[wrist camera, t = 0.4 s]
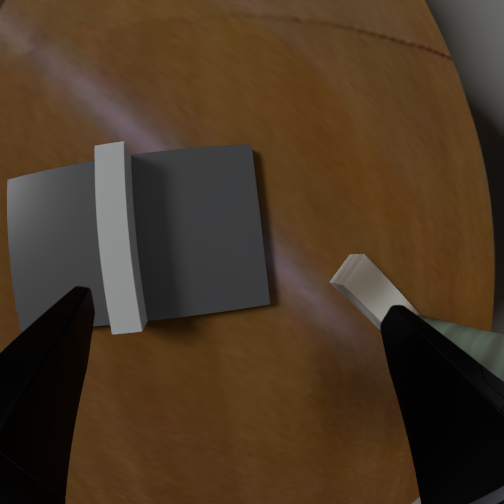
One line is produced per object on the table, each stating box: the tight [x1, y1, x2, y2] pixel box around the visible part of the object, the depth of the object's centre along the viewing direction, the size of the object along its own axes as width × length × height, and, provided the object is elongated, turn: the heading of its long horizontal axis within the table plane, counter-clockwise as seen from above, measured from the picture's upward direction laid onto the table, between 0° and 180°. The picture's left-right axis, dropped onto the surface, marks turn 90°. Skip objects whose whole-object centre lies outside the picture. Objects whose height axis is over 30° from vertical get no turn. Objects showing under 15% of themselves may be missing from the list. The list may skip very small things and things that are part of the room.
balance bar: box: [330, 254, 504, 378], centre depth 21 cm, size 18×3×12 cm, turn 50°
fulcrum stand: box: [7, 141, 270, 334], centre depth 19 cm, size 12×20×4 cm, turn 97°
